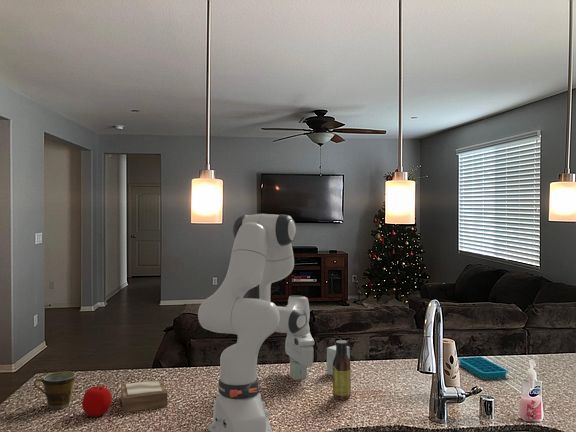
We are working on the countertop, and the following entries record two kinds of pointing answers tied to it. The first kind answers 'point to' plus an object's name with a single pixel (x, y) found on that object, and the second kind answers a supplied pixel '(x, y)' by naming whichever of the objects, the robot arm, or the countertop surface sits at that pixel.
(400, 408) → the countertop surface
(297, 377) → the block
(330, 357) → the small box
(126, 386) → the base
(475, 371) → the ice cube tray
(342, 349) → the sauce bottle
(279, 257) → the robot arm
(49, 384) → the ceramic cup
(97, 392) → the fruit
